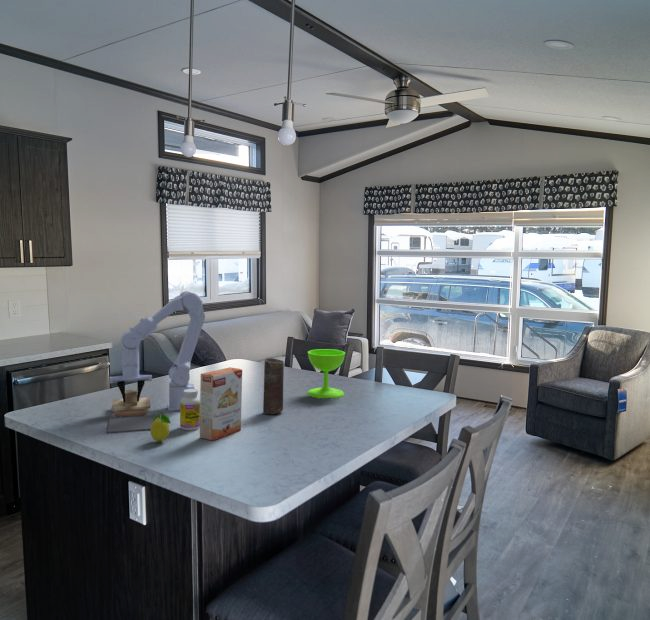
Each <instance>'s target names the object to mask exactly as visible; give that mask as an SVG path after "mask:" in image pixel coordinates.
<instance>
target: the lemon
mask: <svg viewBox="0 0 650 620" xmlns="http://www.w3.org/2000/svg"><path fill="white" fill-rule="evenodd" d="M158 412H159V413H158V414H159V415H158V414H155V415H156V416H155V417H154V419H153V421H154V420H155V419H156V418H158V419H156V420H155V421H154V422H153V424H152V426H151V430H150V435H151V438H152V439H153V440H155V441H157V442H159V443H162V441H164V440H166V439H167V438H168V436H169V434H170V425H169V424H171V420H170V418H169V417H168V416H167V415H166V414H165V413H161V410H159V411H158Z"/></svg>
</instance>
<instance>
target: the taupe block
mask: <svg viewBox="0 0 650 620" xmlns="http://www.w3.org/2000/svg"><path fill="white" fill-rule="evenodd" d="M137 392H138V388H136V389H135V388H134V389H125V402H123V398H116V399H115V398H114V399H113V400H112V404H111V412H114V411H119V410H134V409H151V398H150V397H140V398H139V401H138V402H137Z"/></svg>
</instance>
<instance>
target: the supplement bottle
mask: <svg viewBox="0 0 650 620" xmlns="http://www.w3.org/2000/svg"><path fill="white" fill-rule="evenodd" d="M183 394H184V397H183V398H182V399H181V401H180V410H179V412H180V413H179V417H180V418H179V419H180V420H179V428H180V429H181V430H183V431H196V430H198V429H199V430H200V397H198V394H199V390H198V389H195V388H194V389H186V390H184V391H183Z"/></svg>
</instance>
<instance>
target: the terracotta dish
mask: <svg viewBox="0 0 650 620" xmlns="http://www.w3.org/2000/svg"><path fill="white" fill-rule="evenodd" d="M148 413H149V409H134V410H119V411H113V415H114V416H115V417H128V416H140V415H141V416H143V415H147V414H148Z"/></svg>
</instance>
